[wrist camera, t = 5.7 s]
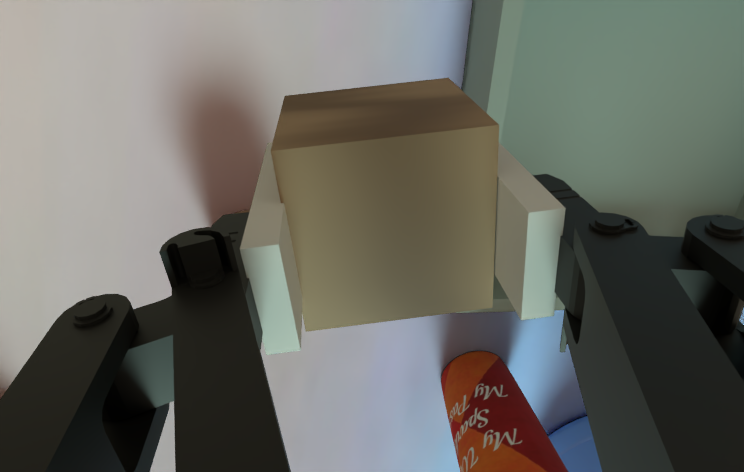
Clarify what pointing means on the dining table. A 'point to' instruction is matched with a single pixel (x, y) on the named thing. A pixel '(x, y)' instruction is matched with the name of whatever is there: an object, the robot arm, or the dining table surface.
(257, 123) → the dining table surface
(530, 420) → the paper cup
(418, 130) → the walnut cube
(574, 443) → the water jug
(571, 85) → the tote
